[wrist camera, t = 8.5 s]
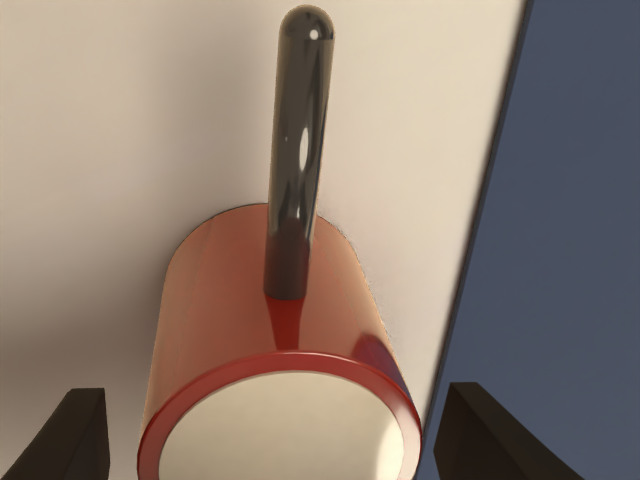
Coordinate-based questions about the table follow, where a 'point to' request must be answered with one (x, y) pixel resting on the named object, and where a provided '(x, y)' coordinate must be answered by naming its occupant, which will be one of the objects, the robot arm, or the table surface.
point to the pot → (277, 323)
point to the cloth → (559, 245)
